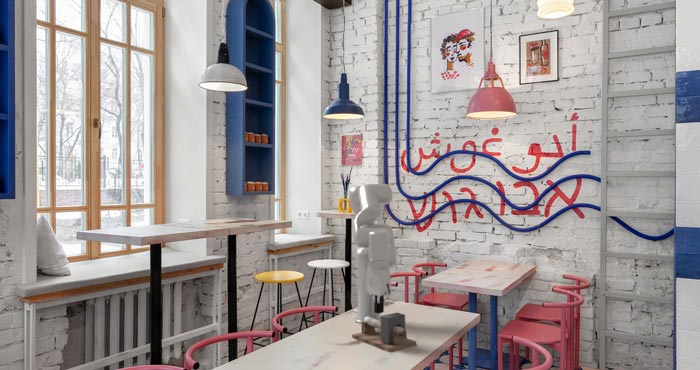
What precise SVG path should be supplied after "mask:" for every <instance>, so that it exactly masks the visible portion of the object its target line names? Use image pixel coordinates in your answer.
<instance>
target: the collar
mask: <svg viewBox="0 0 700 370" xmlns="http://www.w3.org/2000/svg"><path fill="white" fill-rule="evenodd" d="M394 325H395V326H398V327H401V328H404V330H406V314H403V313H401V312H393V313H389V314H383V315H381V341H382V342H384V343H387V344H390V343H392V326H394Z"/></svg>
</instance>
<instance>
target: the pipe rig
mask: <svg viewBox="0 0 700 370" xmlns="http://www.w3.org/2000/svg"><path fill="white" fill-rule="evenodd" d="M407 333H408V332H407V330H406V329H405V330H404V328H401V327H398V326H395V325H394V326H392V343H390V344H387V343H384V342H382V341H381V321H380V320H377V319H374V318H371V317H365V318H364V321H362V324H361V332H357V333H353V334H352V335H351V336H352V338H351V339H355V340H358V341H360V342H362V343H365V344H367V345H370V346H372V347H375V348H378V349H380V350H383V351H385V352H387V353H388V352H392V351H397V350H401V349H405V348H409V347H412V346H416V345H417V341H416V340H414V339H410V338H407V337H408V335H407Z"/></svg>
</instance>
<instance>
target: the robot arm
mask: <svg viewBox="0 0 700 370" xmlns="http://www.w3.org/2000/svg"><path fill="white" fill-rule="evenodd" d="M348 199H349V204H350V205H349V206H350V208H351V211H352V213H353V216H354V219H353V221H352V239H353V243H354V246H356V247H357V248H358V249H357V250H356V251H355V263H356V270H357V271H356V272H357V306H358V307H357V308H356V309H355V310H354V313H356V316H355V317H354V321H355V323H358V324H361V325H362V321H364V318H365V317H371V318H374V319H377V320H380V321H381V316H382V314H383V313H384V312H385V311H384V310H385V307H384V303H385V301H387V300H390V295H391V293H392V281H391V280H392V279H391V271H390V269H392V268H395V267H396V265H397V262H398V261H397V249H396V242H395V233H394V230H393V227H392V226H391V225H389V224H386V223H376V220H377V219H379V218H380V216H381V215H382V206H381V205H388V204H390V203H392V201H393V190H392V188H391V186H390V185H389V184H387V183H368V184H363V185H357V186H354V187H352V188H350V190H349V192H348Z"/></svg>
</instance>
